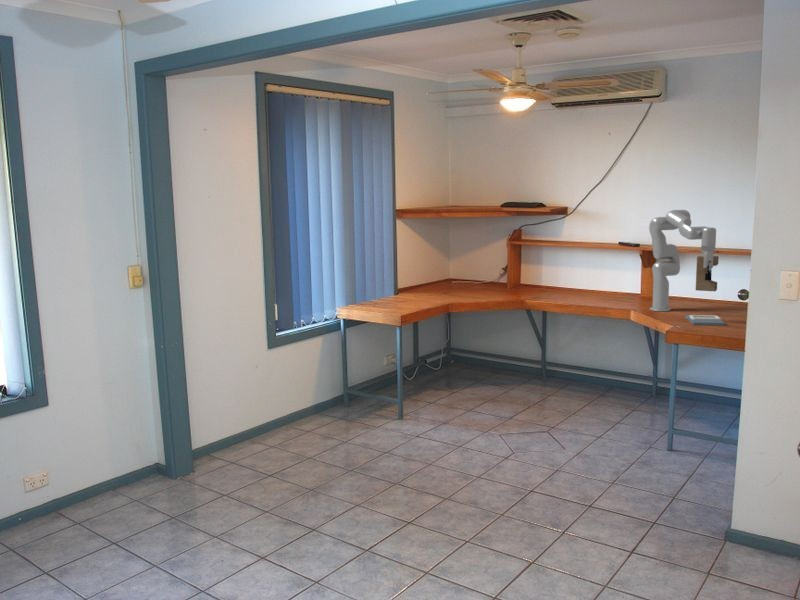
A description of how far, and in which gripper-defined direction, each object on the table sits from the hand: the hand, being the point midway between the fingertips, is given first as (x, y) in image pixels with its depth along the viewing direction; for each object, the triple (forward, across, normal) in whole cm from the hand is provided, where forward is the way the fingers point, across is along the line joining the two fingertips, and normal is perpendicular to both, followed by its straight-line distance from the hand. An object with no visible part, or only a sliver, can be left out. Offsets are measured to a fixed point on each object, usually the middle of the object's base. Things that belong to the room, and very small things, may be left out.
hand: (706, 279), depth 398 cm
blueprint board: (+25, +1, 0) cm, 25 cm away
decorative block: (+7, 0, 0) cm, 7 cm away
